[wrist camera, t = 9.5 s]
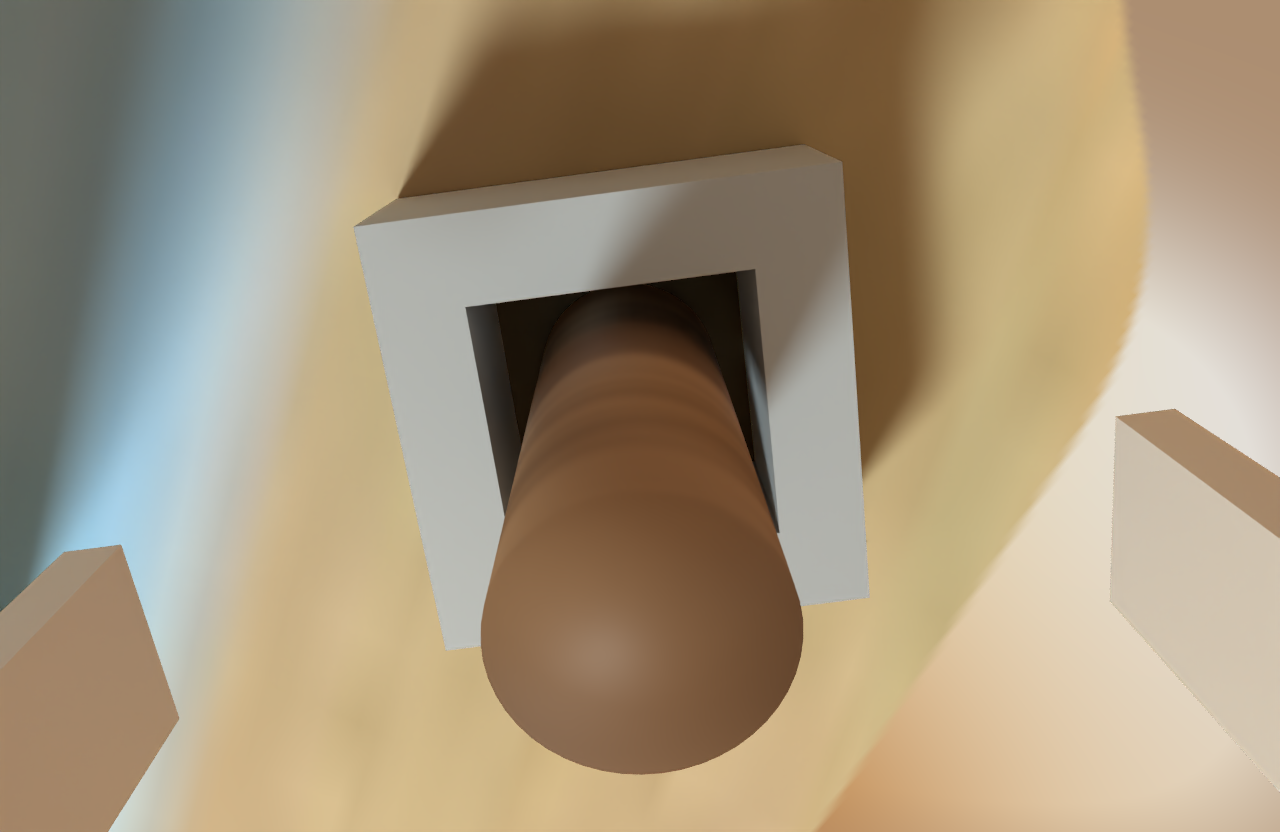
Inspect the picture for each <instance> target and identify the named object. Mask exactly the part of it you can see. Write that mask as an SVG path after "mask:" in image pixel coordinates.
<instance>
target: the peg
mask: <svg viewBox="0 0 1280 832" xmlns="http://www.w3.org/2000/svg"><path fill="white" fill-rule="evenodd" d="M802 643H803V617H802V611H801V605H800V600H799V597H798V594H797V591H796V588H795V585H794V582H793V579H792V576H791V573H790V570H789V567H788V564H787V561H786V558H785V555H784V553H783V550H782V547H781V544H780V541H779V538H778V535H777V532H776V529H775V526H774V524H773V521H772V518H771V515H770V512H769V509H768V506H767V503H766V500H765V497H764V495H763V492H762V489H761V486H760V483H759V480H758V477H757V474H756V471H755V468H754V466H753V463H752V460H751V457H750V454H749V451H748V448H747V445H746V442H745V439H744V437H743V434H742V431H741V428H740V425H739V422H738V419H737V416H736V413H735V410H734V408H733V405H732V402H731V399H730V396H729V393H728V390H727V387H726V384H725V381H724V379H723V376H722V373H721V370H720V367H719V364H718V361H717V358H716V355H715V352H714V350H713V347H712V344H711V341H710V338H709V335H708V333H707V331H706V329H705V327H704V325H703V324H702V322H701V321H700V319H699V318H698V316H697V315H696V314H695V313H694V312H693V311H692V309H691V308H690V307H688V306H687V305H686V304H685V303H684V302H683V301H681V300H680V299H678V298H677V297H675V296H674V295H672V294H670V293H668V292H666V291H664V290H662V289H659V288H656V287H653V286H648V285H643V284H637V285H630V286H622V287H614V288H607V289H599V290H594V291H592V292H590V293H588V294H586V295H584V296H582V297H581V298H579V299H578V300H576V301H575V302H574V303H573V304H572V305H570V306H569V307H568V308H567V309H566V310H565V311H564V313H563V314H562V315H561V316H560V317H559V319H558V320H557V322H556V323H555V325H554V326H553V328H552V330H551V332H550V334H549V337H548V340H547V343H546V346H545V350H544V354H543V358H542V362H541V367H540V371H539V375H538V379H537V384H536V388H535V392H534V396H533V400H532V405H531V409H530V413H529V417H528V422H527V426H526V430H525V434H524V438H523V443H522V447H521V451H520V455H519V459H518V464H517V468H516V472H515V476H514V481H513V485H512V489H511V493H510V497H509V502H508V506H507V510H506V514H505V519H504V523H503V527H502V531H501V535H500V540H499V544H498V548H497V552H496V556H495V561H494V565H493V569H492V573H491V578H490V582H489V586H488V590H487V594H486V599H485V603H484V608H483V614H482V620H481V649H482V657H483V662H484V666H485V669H486V673H487V676H488V679H489V681H490V683H491V686H492V688H493V690H494V692H495V695H496V696H497V698H498V699H499V701H500V703H501V704H502V706H503V707H504V709H505V711H506V712H507V713H508V714H509V715H510V716H511V718H512V719H513V720H514V721H515V722H516V724H517V725H518V726H519V727H520V728H521V729H523V730H524V731H525V732H526V733H527V734H528V735H529V736H530V737H531V738H533V739H534V740H535V741H537V742H538V743H540V744H541V745H543V746H544V747H545V748H547V749H548V750H550V751H552V752H554V753H556V754H558V755H560V756H561V757H563V758H565V759H568V760H570V761H573V762H575V763H578V764H580V765H583V766H587V767H590V768H594V769H598V770H602V771H608V772H614V773H621V774H656V773H665V772H671V771H677V770H682V769H685V768H689V767H692V766H695V765H699V764H702V763H704V762H707V761H709V760H711V759H714V758H716V757H718V756H720V755H722V754H724V753H726V752H727V751H729V750H731V749H733V748H735V747H736V746H738V745H739V744H740V743H742V742H743V741H744V740H746V739H747V738H749V737H750V736H751V735H753V734H754V733H755V732H756V731H757V730H758V729H759V728H760V727H761V726H762V725H763V724H764V723H765V722H766V721H767V720H768V719H769V718H770V716H771V715H772V714H773V713H774V712H775V710H776V709H777V708H778V707H779V705H780V703H781V702H782V700H783V698H784V697H785V695H786V694H787V692H788V690H789V688H790V686H791V683H792V681H793V679H794V677H795V675H796V671H797V668H798V664H799V661H800V657H801V651H802Z"/></svg>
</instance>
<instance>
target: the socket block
mask: <svg viewBox="0 0 1280 832" xmlns="http://www.w3.org/2000/svg"><path fill="white" fill-rule="evenodd" d="M354 232H355V236H356V241H357V245H358V250H359V254H360V259H361V264H362V268H363V273H364V277H365V282H366V287H367V291H368V296H369V300H370V305H371V309H372V314H373V319H374V323H375V328H376V332H377V337H378V341H379V346H380V351H381V355H382V360H383V364H384V369H385V374H386V378H387V383H388V387H389V392H390V396H391V401H392V406H393V410H394V415H395V419H396V424H397V429H398V433H399V438H400V442H401V447H402V451H403V456H404V461H405V465H406V470H407V474H408V479H409V483H410V488H411V493H412V497H413V502H414V506H415V511H416V516H417V520H418V525H419V529H420V534H421V538H422V543H423V548H424V552H425V557H426V561H427V566H428V571H429V575H430V580H431V584H432V589H433V593H434V598H435V603H436V607H437V612H438V616H439V621H440V625H441V630H442V635H443V639H444V644H445V648H446V651H447V650H455V649H463V648H470V647H478V646H481V620H482V614H483V608H484V603H485V599H486V594H487V590H488V586H489V582H490V578H491V573H492V569H493V565H494V561H495V556H496V552H497V548H498V544H499V540H500V535H501V531H502V527H503V523H504V519H505V514H506V510H507V506H508V502H509V497H510V493H511V489H512V485H513V481H514V476H515V472H516V468H517V464H518V459H519V455H520V451H521V442H520V436H519V431H518V425H517V420H516V414H515V408H514V403H513V397H512V391H511V386H510V380H509V375H508V369H507V363H506V358H505V352H504V346H503V341H502V335H501V329H500V324H499V318H498V313H497V307H496V303H501V302H508V301H516V300H523V299H531V298H538V297H546V296H554V295H561V294H569V293H576V292H584V291H592V290H599V289H607V288H614V287H622V286H630V285H637V284H645V283H652V282H660V281H668V280H675V279H683V278H690V277H698V276H706V275H713V274H721V273H728V272H736V277H737V287H738V297H739V307H740V317H741V327H742V337H743V347H744V358H745V368H746V378H747V388H748V398H749V408H750V418H751V428H752V438H753V449H754V459H755V461H753V462H752V463H753V466H754V468H755V471H756V474H757V477H758V480H759V483H760V486H761V489H762V492H763V495H764V497H765V500H766V503H767V506H768V509H769V512H770V515H771V518H772V521H773V524H774V526H775V529H776V532H777V535H778V538H779V541H780V544H781V547H782V550H783V553H784V555H785V558H786V561H787V564H788V567H789V570H790V573H791V576H792V579H793V582H794V585H795V588H796V591H797V594H798V597H799V600H800V605H801V606H806V605H814V604H822V603H830V602H838V601H846V600H854V599H862V598H870V596H869V580H868V564H867V548H866V532H865V516H864V500H863V484H862V468H861V452H860V436H859V420H858V404H857V388H856V372H855V356H854V340H853V324H852V308H851V293H850V277H849V261H848V245H847V229H846V213H845V197H844V181H843V165H842V161H840V160H838V159H835V158H833V157H831V156H829V155H827V154H824V153H822V152H820V151H818V150H816V149H814V148H811V147H809V146H807V145H805V144H802V145H795V146H787V147H780V148H772V149H765V150H757V151H750V152H742V153H735V154H728V155H720V156H713V157H705V158H698V159H690V160H683V161H675V162H668V163H660V164H653V165H645V166H638V167H630V168H623V169H615V170H608V171H601V172H593V173H586V174H578V175H571V176H563V177H556V178H548V179H541V180H533V181H526V182H518V183H511V184H503V185H496V186H488V187H481V188H473V189H466V190H459V191H451V192H444V193H436V194H429V195H421V196H414V197H406V198H399V199H396V200H394V201H392V202H391V203H389V204H388V205H386V206H385V207H383V208H382V209H380V210H379V211H377V212H376V213H374V214H372V215H371V216H369V217H368V218H366V219H365V220H363V221H362V222H360V223H359V224H357V225H356V226H354Z"/></svg>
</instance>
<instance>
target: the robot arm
mask: <svg viewBox="0 0 1280 832" xmlns="http://www.w3.org/2000/svg"><path fill="white" fill-rule="evenodd" d="M1111 550H1112V551H1111V579H1110V602H1111V603H1112V604H1113V606H1114V607H1115V608H1116V609H1117V610H1118V611H1119V612H1120V613H1121V614H1122V616H1123V617H1124V618H1125V619H1126V620H1127V621H1128V622H1129V623H1130V625H1131V626H1132V627H1133V628H1134V629H1135V630H1136V631H1137V633H1138V634H1139V635H1140V636H1141V637H1142V638H1143V639H1144V640H1145V642H1146V643H1147V644H1148V645H1149V646H1150V647H1151V648H1152V649H1153V651H1154V652H1155V653H1156V654H1157V655H1158V656H1159V657H1160V658H1161V659H1162V661H1163V662H1164V663H1165V664H1166V665H1167V666H1168V667H1169V668H1170V670H1171V671H1172V672H1173V673H1174V674H1175V675H1176V676H1177V677H1178V678H1179V680H1180V681H1181V682H1182V683H1183V684H1184V685H1185V686H1186V688H1187V689H1188V690H1189V691H1190V692H1191V693H1192V694H1193V695H1194V697H1195V698H1196V699H1197V700H1198V701H1199V702H1200V703H1201V704H1202V706H1203V707H1204V708H1205V709H1206V710H1207V711H1208V712H1209V713H1210V715H1211V716H1212V717H1213V718H1214V719H1215V720H1216V721H1217V722H1218V724H1219V725H1220V726H1221V727H1222V728H1223V729H1224V730H1225V731H1226V733H1227V734H1228V735H1229V736H1230V737H1231V738H1232V739H1233V740H1234V742H1235V743H1236V744H1237V745H1238V746H1239V747H1240V748H1241V749H1242V750H1243V752H1244V753H1245V754H1246V755H1247V756H1248V757H1249V758H1250V760H1251V761H1252V762H1253V763H1254V764H1255V765H1256V766H1257V767H1258V768H1259V770H1260V771H1261V772H1262V773H1263V774H1264V775H1265V776H1266V777H1267V779H1268V780H1269V781H1270V782H1271V783H1272V784H1273V785H1274V786H1275V788H1276V789H1277V790H1278V791H1279V792H1280V477H1278V476H1277V475H1275V474H1274V473H1272V472H1270V471H1269V470H1267V469H1266V468H1264V467H1263V466H1261V465H1260V464H1258V463H1257V462H1255V461H1254V460H1252V459H1251V458H1249V457H1248V456H1246V455H1244V454H1243V453H1241V452H1240V451H1238V450H1237V449H1235V448H1233V447H1232V446H1231V445H1229V444H1228V443H1226V442H1225V441H1223V440H1221V439H1220V438H1219V437H1217V436H1215V435H1214V434H1212V433H1211V432H1209V431H1208V430H1206V429H1205V428H1203V427H1202V426H1200V425H1199V424H1197V423H1196V422H1194V421H1193V420H1191V419H1190V418H1188V417H1186V416H1185V415H1183V414H1182V413H1180V412H1179V411H1177V410H1176V409H1170V410H1162V411H1155V412H1147V413H1139V414H1132V415H1124V416H1116V424H1115V455H1114V487H1113V518H1112V549H1111ZM178 720H179V716H178V713H177V710H176V707H175V704H174V701H173V698H172V695H171V692H170V689H169V686H168V683H167V680H166V677H165V674H164V671H163V668H162V665H161V662H160V659H159V656H158V653H157V650H156V647H155V644H154V641H153V638H152V635H151V633H150V630H149V627H148V624H147V621H146V618H145V615H144V612H143V609H142V606H141V603H140V600H139V597H138V594H137V591H136V588H135V585H134V582H133V579H132V576H131V573H130V570H129V567H128V564H127V561H126V558H125V555H124V552H123V549H122V546H121V545H115V546H107V547H100V548H92V549H84V550H76V551H69V552H64V553H63V554H61V555H60V556H59V557H58V558H57V559H56V560H55V561H54V562H53V563H52V564H51V565H50V566H49V567H48V568H47V569H46V570H44V571H43V572H42V573H41V574H40V575H39V576H38V577H37V578H36V579H35V580H34V581H33V582H32V583H31V584H30V585H29V586H28V587H26V588H25V589H24V590H23V591H22V592H21V593H20V594H19V595H18V596H17V597H16V598H15V599H14V600H13V601H12V602H11V603H10V604H8V605H7V606H6V607H5V608H4V609H3V610H2V611H1V612H0V832H108V831H109V829H110V828H111V826H112V824H113V823H114V821H115V820H116V818H117V817H118V815H119V813H120V812H121V810H122V809H123V807H124V805H125V804H126V802H127V801H128V799H129V798H130V796H131V794H132V793H133V791H134V790H135V788H136V786H137V785H138V783H139V782H140V780H141V779H142V777H143V775H144V774H145V772H146V771H147V769H148V767H149V766H150V764H151V763H152V761H153V759H154V758H155V756H156V755H157V753H158V752H159V750H160V748H161V747H162V745H163V744H164V742H165V740H166V739H167V737H168V736H169V734H170V733H171V731H172V729H173V728H174V726H175V725H176V723H177V721H178Z"/></svg>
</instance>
